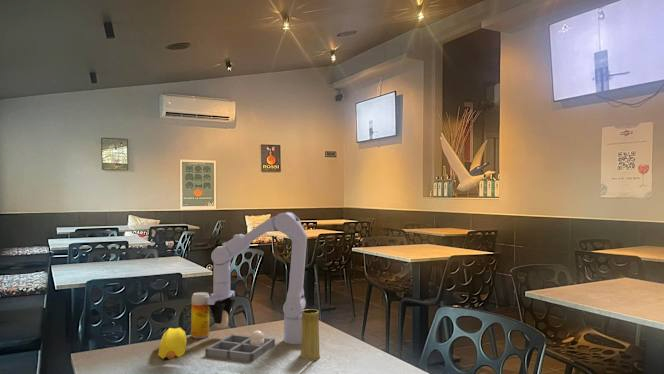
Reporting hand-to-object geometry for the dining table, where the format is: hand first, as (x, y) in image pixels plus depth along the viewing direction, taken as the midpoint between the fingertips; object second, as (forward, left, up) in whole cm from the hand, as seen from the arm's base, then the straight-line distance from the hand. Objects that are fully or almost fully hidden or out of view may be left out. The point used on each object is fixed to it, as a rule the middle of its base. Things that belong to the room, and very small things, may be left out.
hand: (221, 321), depth 163 cm
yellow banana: (+8, +16, -7) cm, 19 cm away
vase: (-35, +7, -7) cm, 36 cm away
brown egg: (0, 0, -2) cm, 2 cm away
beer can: (+9, -1, -7) cm, 11 cm away
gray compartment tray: (-13, +10, -6) cm, 17 cm away
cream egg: (-17, +6, -6) cm, 19 cm away
